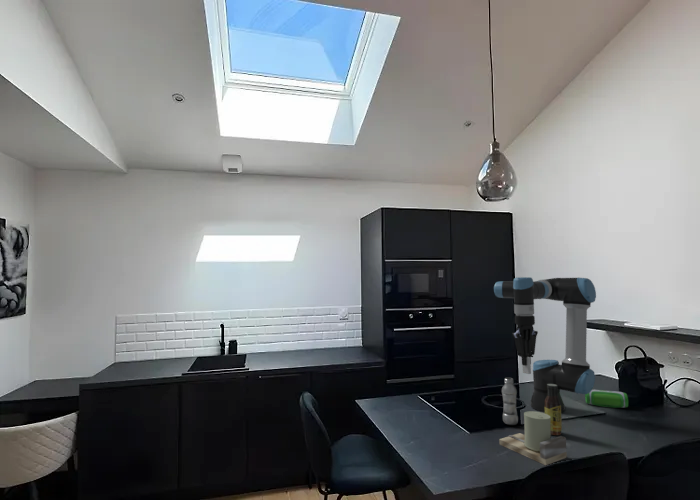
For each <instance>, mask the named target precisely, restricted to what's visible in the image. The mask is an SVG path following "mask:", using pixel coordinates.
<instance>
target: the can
mask: <svg viewBox="0 0 700 500" xmlns="http://www.w3.org/2000/svg"><path fill="white" fill-rule="evenodd" d="M523 417H524V419H523V420H524V421H523V422H524V427H523V428H524V435H525V443H524V445H525V446H526V447H527V448H529V449H531V450H534V451H539V452H540V443H541V442H544V441H547V440H550V439H552V438H551V437H552V435H551V430H550V419H551V417H550V416H549V415H547V414H545V412H542V411H536V410H535V411H533V410H531V411H530V410H529V411H525V412H523Z"/></svg>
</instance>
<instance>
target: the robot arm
mask: <svg viewBox="0 0 700 500" xmlns="http://www.w3.org/2000/svg"><path fill="white" fill-rule="evenodd" d="M493 292H494V295H495V297H496V298H500V299H501V298H502V299H513V302H514V303H513V311H514V312H513V313H514V314H515V315H514V324H515V325H516V331H515V332H512V337H513V339H514V344H515V349H516V353H517V354H516V355H517V356H519V357H521V365H522V373H523V374H527V375H531V374H532V376H533V392H532V395H531V400H530V407H531V408H532V409H534V410H535V411H536V410H537V411H538V412H542V413H545V399H546V397H547V396H548V394H547V393H548V388H547V384H555V385H557V386H558V389H557V395H558V399H559V401H560V404H561V413H562V412H565V410H566V407H565V403H564V400H563V398H562V395H561V391H566V392H569V393H570V392H571V393H575V394H577V395H578V394H580V395H581V394H582V395H585V394H588V393H590V392H591V390H594V389H593V388H594V387H595V386H594V385H595V382H596V375H595V371H594V370H593V369H591V368H590V367H591V365H590V364H589V362H588V361H587V334H588V333H587V331H588V330H587V329H588V326H587V325H588V322H587V321H588V320H587V318H588V316H587V315H588V309H590V308H591V303H594V302H595V301H596V298H597V293H596V292H597V291H596V287H595V285H594V283H593V281H592V280H591V279H589V278H586V277H552V278H546V279H538V280H536V281H534V280H533V277H523V276H522V277H521V276H520V277H515V278H513V280H509V281H508V280H507V281H504V280H503V281H496V282H495V284H494V286H493ZM535 300H551V301H556V302H562V305H563V306H564V307H565V308H566V310H565V313H566V319H565V322H566V323H565V358H564V359H563V360H562V361H561V364H560V362H559V360H556V359H539V360H535V361H534V362H533V363H532V358H533V357H534V355H535V352H536V344H537V337H538V333H539V332H538V330H535V329H534V326H535V324H536V320H535V315H534V314H535V303H534V301H535ZM531 365H532V366H531ZM531 367H532V368H531Z"/></svg>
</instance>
